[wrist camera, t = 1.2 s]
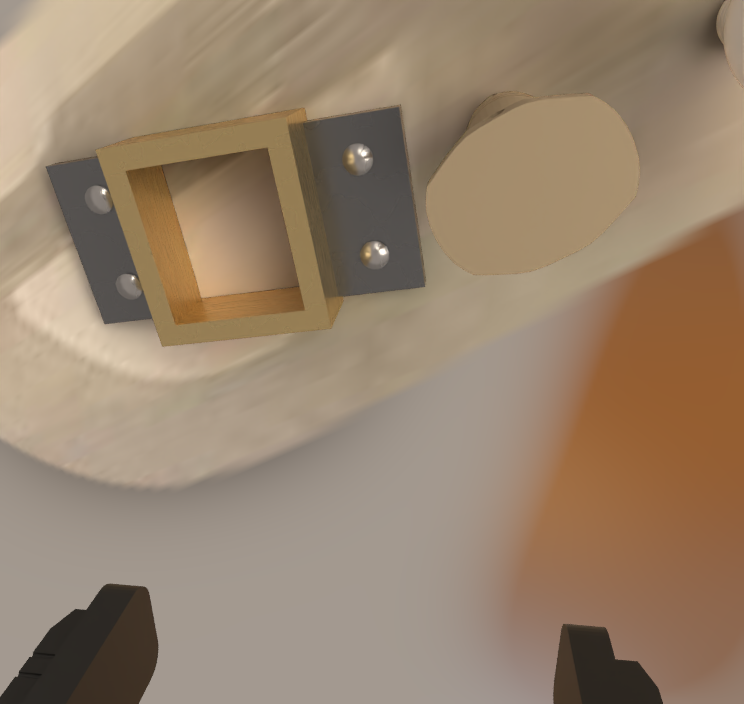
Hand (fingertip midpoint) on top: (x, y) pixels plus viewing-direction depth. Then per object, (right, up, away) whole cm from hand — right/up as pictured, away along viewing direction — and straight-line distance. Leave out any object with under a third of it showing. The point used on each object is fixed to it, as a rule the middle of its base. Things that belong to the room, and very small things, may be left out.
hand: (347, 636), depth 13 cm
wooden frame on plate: (-7, +13, +25) cm, 29 cm away
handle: (+7, +17, +21) cm, 28 cm away
